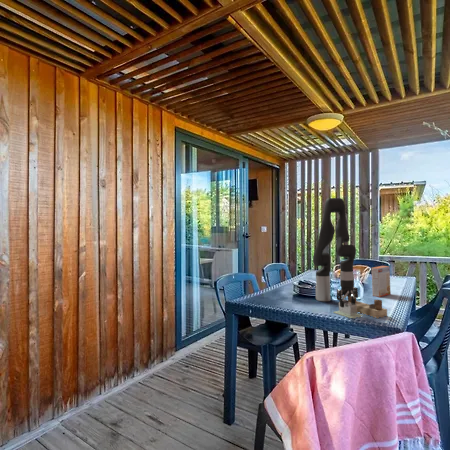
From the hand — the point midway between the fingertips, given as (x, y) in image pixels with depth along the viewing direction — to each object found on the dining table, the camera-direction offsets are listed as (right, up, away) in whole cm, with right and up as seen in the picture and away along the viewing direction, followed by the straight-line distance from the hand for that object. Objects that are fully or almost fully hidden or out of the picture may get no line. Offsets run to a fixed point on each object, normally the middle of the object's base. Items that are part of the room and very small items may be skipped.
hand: (347, 306), depth 184 cm
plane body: (+12, -5, +4) cm, 13 cm away
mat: (0, -5, 0) cm, 5 cm away
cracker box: (+42, -4, +45) cm, 62 cm away
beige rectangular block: (0, -4, 0) cm, 4 cm away
